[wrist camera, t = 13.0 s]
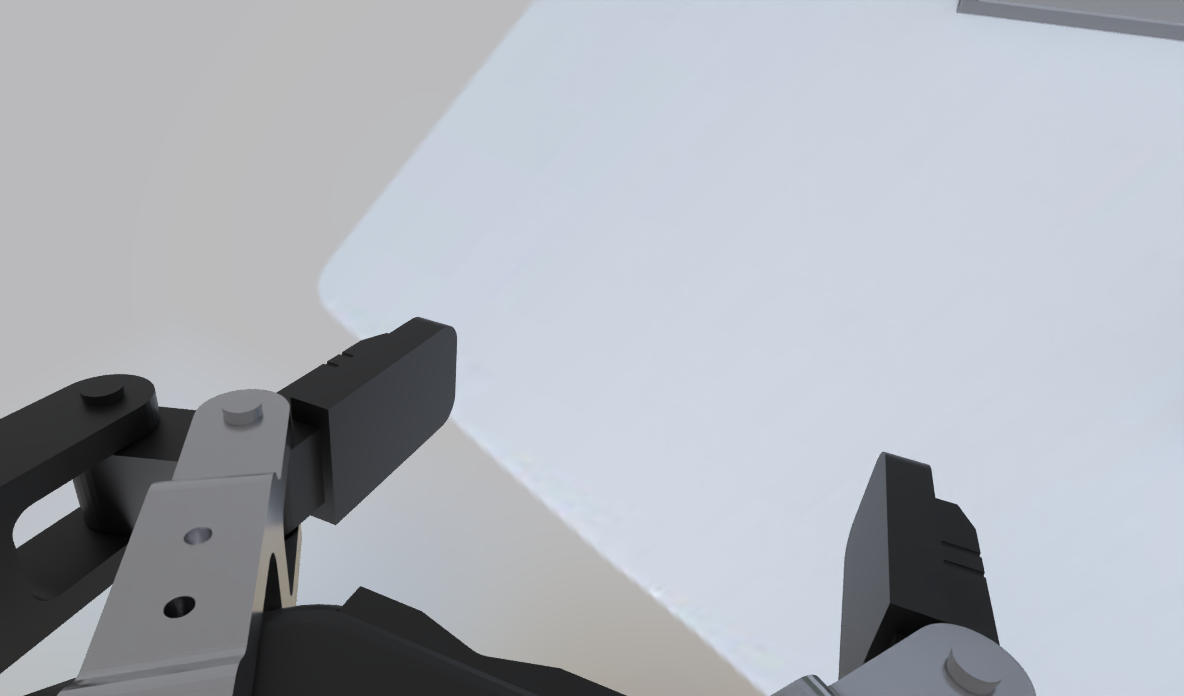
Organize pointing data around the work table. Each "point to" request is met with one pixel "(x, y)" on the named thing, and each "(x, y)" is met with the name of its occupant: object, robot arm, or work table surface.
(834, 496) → the work table surface
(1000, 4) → the tray
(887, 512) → the robot arm
